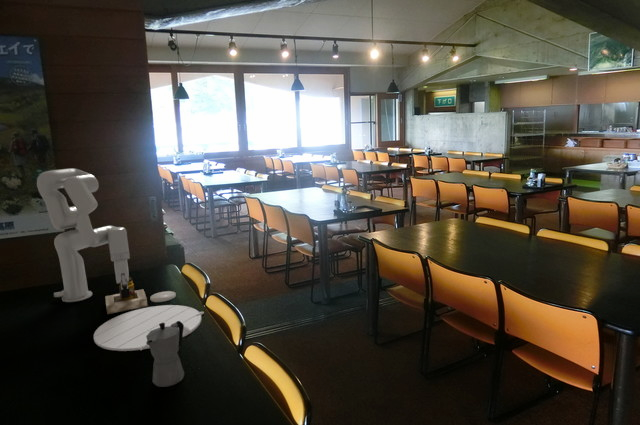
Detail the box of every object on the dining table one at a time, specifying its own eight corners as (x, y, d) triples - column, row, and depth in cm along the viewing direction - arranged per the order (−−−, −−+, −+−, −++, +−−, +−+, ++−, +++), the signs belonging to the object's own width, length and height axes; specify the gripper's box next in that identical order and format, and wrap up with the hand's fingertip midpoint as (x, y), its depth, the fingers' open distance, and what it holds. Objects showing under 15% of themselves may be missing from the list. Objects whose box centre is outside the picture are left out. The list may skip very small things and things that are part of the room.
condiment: (138, 304, 200) (135, 278, 197) (118, 309, 195) (114, 283, 193) (135, 300, 206) (131, 274, 203) (115, 304, 201) (111, 279, 199)
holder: (107, 314, 191) (106, 306, 190) (106, 303, 203) (105, 296, 202) (147, 306, 198) (146, 298, 197) (144, 296, 210) (143, 289, 209)
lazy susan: (223, 314, 185) (222, 306, 184) (151, 360, 150) (150, 350, 150) (150, 303, 202) (149, 295, 201) (70, 341, 167) (68, 333, 166)
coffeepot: (166, 393, 129) (159, 334, 126) (140, 388, 133) (133, 330, 130) (199, 366, 144) (193, 313, 140) (175, 362, 147) (169, 310, 144)
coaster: (152, 304, 200) (151, 301, 200) (149, 296, 209) (148, 294, 209) (177, 298, 204) (177, 296, 204) (173, 291, 214) (173, 289, 214)
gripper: (110, 252, 202) (115, 291, 205) (111, 262, 187) (117, 303, 190) (128, 250, 205) (133, 288, 209) (130, 258, 190) (136, 299, 193)
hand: (125, 294), depth 199 cm, fingers closed on condiment, 6 cm apart
